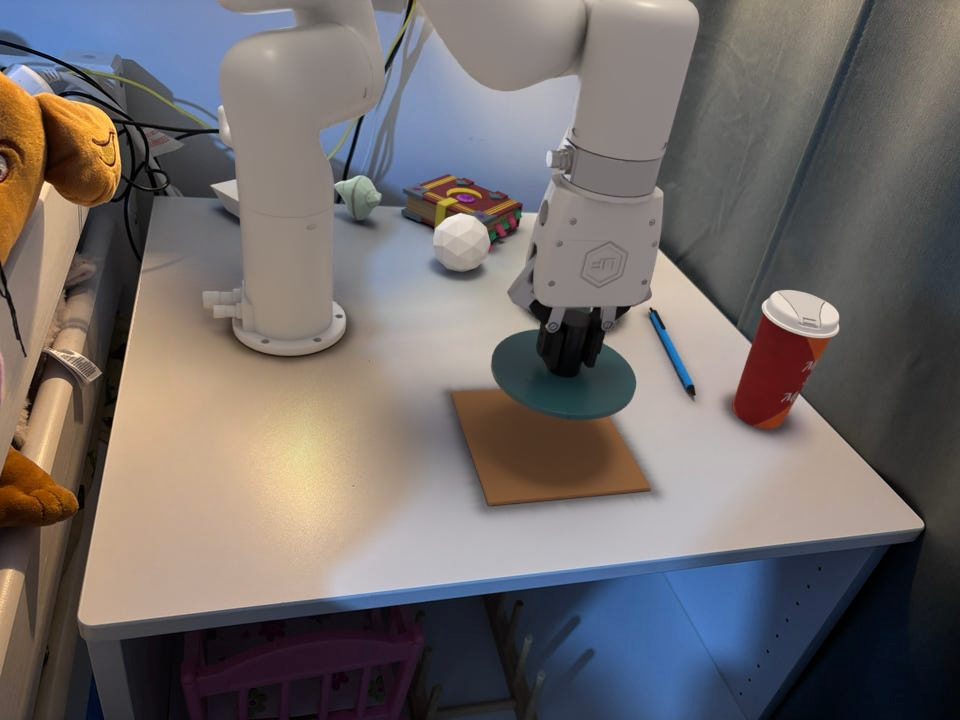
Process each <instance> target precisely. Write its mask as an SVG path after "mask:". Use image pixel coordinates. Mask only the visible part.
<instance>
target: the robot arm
mask: <svg viewBox="0 0 960 720" xmlns="http://www.w3.org/2000/svg"><path fill="white" fill-rule="evenodd" d="M214 1H215V2H216V3H217V4H218V5H220V6H221V7H222V8H223V9H225V10H226V11H229V12H230V13H231V12H232V13H235V14H240V15H263V14H264V15H265V14H273V13H274V14H275V13H282V12H289V11H291V13H292V15H293V18H294V22H295V25H292V26H286V27H279V28H272V29H267V30H262V31H258V32H255V33H252V34H249V35H247V36H245V37H243V38H241V39H240V40H238V41H236V42H235V43H234V44H233V45H232V46H231V47H230V48H229V49H228V50H227V51H226V53H225V54H224V56H223V58H222V60H221V62H220V67H219V70H218V91H219V96H220V100H221V105H223V108H224V112H225V115H226V119H227V123H228V126H229V130H230V135H231V139H232V144H233V148H232V150H233V156H234V166H235V165H236V169H235V176H236V175H237V188H238V199H239V213H240V218H239V225H240V226H239V227H240V239H241V241H240V242H241V254H242V255H241V256H242V270H243V279H242V280H241V287H240V288H232V291H220V290H203V291H202V308H203V309H212V315H213V319H226V318H232V319H231V322H232V323H231V324H232V331H233V333H234V335H235V337H236V338H237V339H238V341H240V342H241V343H242V344H243V345H245V346H246V347H248V348H251V349H252V350H255V351H258V352H261V353H264V354H269V355H273V356H274V355H275V356H286V357H288V356H289V357H290V356H303V355H310V354H313V353H317V352H320V351H322V350H325V349H328V348H329V347H331V346H333V345H334V344H336V343H337V342H339V340H340V339H341V338H342V337H343V336H344V334H345V332H346V328H347V316H346V312H345V311H344V309H343V307H341V306H340V305H339V304H338V303H337V302H336V301H334V241H335V240H334V237H335V236H334V234H335V232H334V231H335V188H334V184H335V180H334V172H333V170H332V166H331V163H330V160H329V158H328V156H327V154H326V153H325V150H324V148H323V145H322V142H321V136H320V135H321V133H322V131H325V130H328V129H330V128H332V127H335V126H338V125H341V124H344V123H348V122H350V121H352V120H355V119H359V118H361V117H363V116H365V115H367V114H368V113H369V112H371V111H373V109H374V108H375V107H376V106H377V104H378V103H379V102H380V100H381V98H382V96H383V95H382V94H383V92H384V88H385V81H386V70H385V59H384V52H383V48H382V43H381V39H380V34H379V30H378V26H377V21H376V16H375V12H374V7H373V4H372V3H373V2H372V0H214ZM417 2H418V4H419V5H420V7H421V9H422V11H423V12H424V14H425V15H426V18H427V19H428V20H429V22H430V23H431V25H432V27H433V28H434V30H435V32H436V33H437V35H438V37H439V38H440V40H441V42H442V44H444V47H445V48H446V49H447V50H448V52H449V54H450V55H451V57H452V58H453V59H454V61H456V63H457V64H458V65H459V66H460V68H461V69H463V71H464V72H465V73H466V74H467V75H468V76H469V77H470V78H472V79H473V80H474V81H476V82H477V83H479V85H481V86H484V87H485V88H488V89H491V90H494V91H500V92H516V91H520V90H523V89H526V88H530V87H532V86H535V85H537V84H540V83H542V82H544V81H547V80H551V79H558V78H563V77H568V76H577V77H578V78H577V83H576V88H575V94H574V98H573V99H574V100H573V105H572V109H571V114H570V120H569V125H568V126H569V130H568V136H567V138H564V143H563V147H562V149H558V148H557V149H555V150H552V149H551V150H550V149H549V150H548V151H547V153H546V158H545V163H546V167H547V168H548V169H554V168H556V169H557V170H559V171H560V174H554V175H553V174H552V177H551V178H550V181H549V183H548V185H547V188H546V189H545V192H544V195H543V197H542V200H541V203H540V205H539V209H538V212H537V215H536V218H535V221H534V225H533V229H532V232H531V235H530V241H529V245H528V249H527V253H526V257H525V264H524V268H523V269H522V270H521V272H520V273H519V275H517V277H516V278H515V280H514V281H513V282H512V283H511V285H510V286H509V287H508V289H507V292H506V293H507V296H508V298H509V300H510V301H511V302H512V303H513V304H514V305H516V306H518V307H520V308H521V309H524V310H527V311H528V312H529V311H531V312H532V313H533V315H534V316H535V317H536V318H535V317H534V316H533V315H532V316H533V317H534V318H535V319H537V320H538V321H539V322H540V324H539V328H538V329H539V333H538V338H537V343H536V350H537V353H538V355H539V356H540V357H542V359H543V361H544V363H545V364H546V366H547V368H548V370H552V369H555V368H556V367H557V364H558V359H559V355H560V350H561V346H562V342H563V337H564V334H563V332H562V330H561V328H560V325H561V322H562V319H563V316H564V313H565V310H566V308H576V307H591V309H590V313H589V314H587V315H589V316H590V318H591V319H592V325H591V329H590V333H589V337H588V341H587V345H586V349H585V353H584V357H583V363H584V365H585V366H587V367H588V368H593V367H594V366H595V362H596V358H597V354H600V352H601V348H602V345H603V343H604V340H605V336H606V333H607V332H608V331H611V330H612V329H613V328H614V327H615V326H614V322H615V321H616V320H617V319H618V318H619V319H620V318H621V317H622V316H624V314H626V313H628V312H629V311H630V309H632V308H635V307H637V306H639V305H642V304H643V303H646V302H648V301H649V300H651V298H652V297H653V292H652V288H651V284H652V280H653V277H654V272H655V266H656V263H657V257H658V252H659V248H660V241H661V234H662V227H663V225H662V224H663V216H664V215H663V213H664V191H663V190H662V189H661V188H659V187H658V186H657V183H658V180H659V176H660V172H661V169H662V165H663V161H664V157H665V154H666V151H667V146H668V143H669V139H670V137H671V136H670V135H671V132H672V129H673V125H674V120H675V117H676V114H677V109H678V107H679V103H680V99H681V96H682V92H683V87H684V84H685V80H686V77H687V73H688V70H689V66H690V63H691V59H692V54H693V52H694V47H695V44H696V41H697V36H698V31H699V27H700V14H699V11H698V9H697V7H696V6H695V4H694V3H693V2H691V1H690V0H417ZM533 288H534V294H533V293H531V291H532V290H533Z"/></svg>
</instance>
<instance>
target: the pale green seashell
mask: <svg viewBox="0 0 960 720" xmlns="http://www.w3.org/2000/svg"><path fill="white" fill-rule="evenodd" d="M334 190H335V191H336V192H337V193H338V194H339V196H340V197H341V198H342V200H343V201H344V203H345V206H346V209H347V212H348V213H349V215H350V217H352V218H353V219H355V220H356V221H363V220H366V219H367V218H368V217H369V216H370V215H371V213H372V211H373V210H374V209H375V208H376V207H378V205H379V204H380V203H381V202H382V200H383V194H382V193H380V192H379V191H377V189H376V187H375V185H374V183H373V182H372V180H371V179H370V178H369V177H367V176H365V175H356V176H354V177H353V178H350V179H347V180H340V181H339V182H337V183H334Z"/></svg>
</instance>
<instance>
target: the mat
mask: <svg viewBox="0 0 960 720" xmlns="http://www.w3.org/2000/svg"><path fill="white" fill-rule="evenodd" d="M450 397H451V398H452V402H453V405H454V408H455V410H456V413H457V417H458V419H459V423H460V425H461V429H462V431H463V432H462V433H463V434H464V438H465V440H466V444H467V446H468V449H469V452H470V455H471V459H472V461H473V464H474V468H475V470H476V474H477V476H478V479H479V482H480V486H481V488H482V491H483V494H484V497H485V499H486V503H487V506H489V507H490V506H491V507H492V506H499V505H500V506H502V505H512V504H522V503H532V502H533V503H534V502H542V501H554V500H563V499H564V500H565V499H575V498H587V497H597V496H607V495H608V496H609V495H616V494H628V493H629V494H630V493H638V492H650V491H651V489H652V486H651V485H650V483H649V481H648V480H647V478H646V476H645V474H644V473H643V471H642V469H641V468H640V466H639V465H638V462H637V461H636V459H635V458H634V456H633V454H632V452H631V450H630V449H629V447H628V446H627V444H626V442H625V441H624V439H623V437H622V435H621V433H620V432H619V430H618V429H617V427H616V425H615V424H614V422H613V420H612V419H611V417H610V416H608V417H604V418H600V419H593V420H569V419H562V418H556V417H552V416H548V415H545V414H542V413H539V412H536V411H534V410H531V409H529V408H527V407H525V406H523V405H521V404H519V403H518V402H516V401H515V400H513V399H512V398H511V397H509V396H508V395H507V394H506V393H505V392H504V391H503V390H502V389H501V388H498V389H497V388H495V389H476V390H457V391H451V392H450Z"/></svg>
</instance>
